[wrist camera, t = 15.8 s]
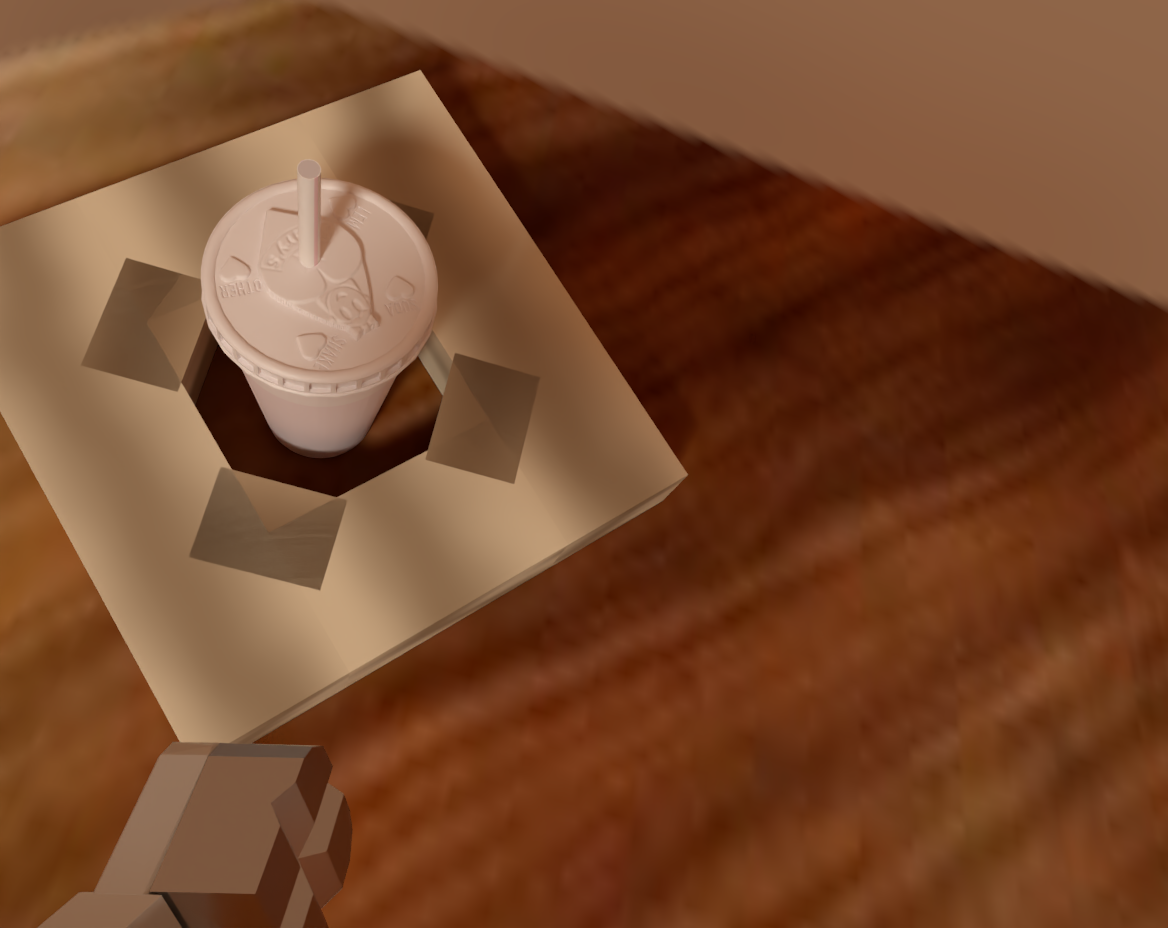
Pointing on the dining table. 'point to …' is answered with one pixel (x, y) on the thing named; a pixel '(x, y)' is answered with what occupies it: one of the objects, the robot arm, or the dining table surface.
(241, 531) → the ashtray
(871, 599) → the dining table surface
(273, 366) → the smoothie
